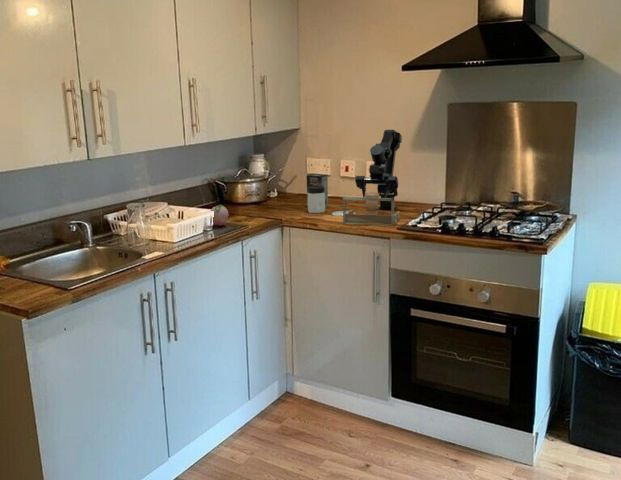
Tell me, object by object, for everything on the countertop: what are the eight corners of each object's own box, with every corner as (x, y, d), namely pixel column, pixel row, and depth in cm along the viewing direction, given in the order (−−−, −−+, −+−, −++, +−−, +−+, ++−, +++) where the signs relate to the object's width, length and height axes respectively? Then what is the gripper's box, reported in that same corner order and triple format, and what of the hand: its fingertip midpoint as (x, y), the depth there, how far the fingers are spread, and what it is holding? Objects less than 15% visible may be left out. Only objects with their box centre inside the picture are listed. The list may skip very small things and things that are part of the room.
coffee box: (306, 207, 319) (305, 175, 316) (313, 205, 324) (312, 173, 321) (322, 208, 314) (321, 176, 311) (328, 206, 320) (328, 174, 316)
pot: (372, 218, 283) (372, 192, 280) (382, 220, 278) (382, 193, 276) (362, 220, 279) (361, 193, 276) (372, 222, 274) (371, 195, 272)
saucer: (344, 211, 305) (344, 210, 305) (360, 214, 297) (360, 212, 296) (327, 214, 298) (326, 213, 298) (342, 217, 290) (342, 216, 290)
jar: (313, 214, 301) (312, 188, 298) (304, 211, 307) (303, 187, 305) (329, 211, 305) (328, 186, 303) (319, 209, 312) (318, 185, 309)
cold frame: (352, 217, 289) (351, 191, 286) (400, 219, 282) (400, 192, 280) (343, 224, 275) (342, 197, 272) (393, 226, 268) (393, 198, 265)
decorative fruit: (210, 224, 283) (209, 202, 281) (229, 223, 284) (228, 201, 282) (209, 228, 274) (207, 206, 272) (228, 228, 275) (227, 205, 273)
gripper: (355, 157, 284) (349, 185, 276) (397, 158, 278) (392, 186, 270) (360, 173, 293) (354, 200, 285) (400, 173, 287) (395, 202, 279)
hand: (373, 197), depth 280 cm, fingers open, 9 cm apart
